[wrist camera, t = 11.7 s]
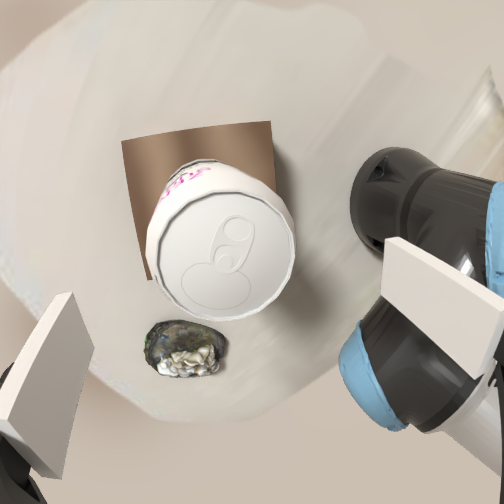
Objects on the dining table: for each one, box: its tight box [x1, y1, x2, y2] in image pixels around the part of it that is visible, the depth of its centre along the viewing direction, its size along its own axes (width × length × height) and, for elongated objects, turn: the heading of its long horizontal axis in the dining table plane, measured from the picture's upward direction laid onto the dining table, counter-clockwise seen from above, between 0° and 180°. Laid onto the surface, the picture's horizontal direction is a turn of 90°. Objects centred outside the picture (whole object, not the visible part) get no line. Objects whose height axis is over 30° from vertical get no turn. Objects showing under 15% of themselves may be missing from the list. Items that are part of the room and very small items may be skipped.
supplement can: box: [145, 159, 297, 322], centre depth 22 cm, size 8×8×15 cm
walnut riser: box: [121, 121, 277, 280], centre depth 31 cm, size 14×14×6 cm
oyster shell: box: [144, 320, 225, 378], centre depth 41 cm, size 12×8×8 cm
